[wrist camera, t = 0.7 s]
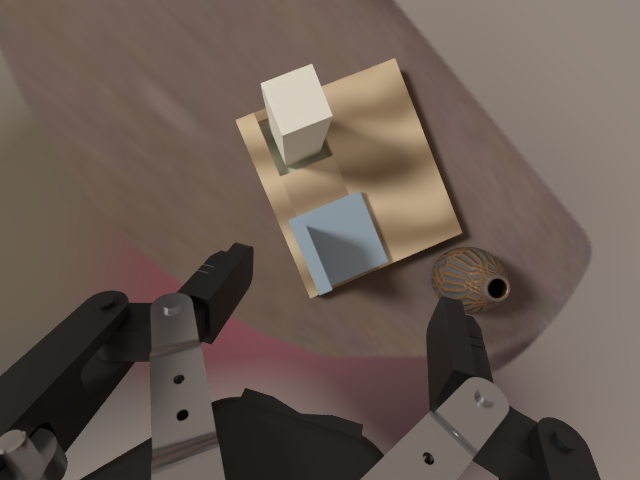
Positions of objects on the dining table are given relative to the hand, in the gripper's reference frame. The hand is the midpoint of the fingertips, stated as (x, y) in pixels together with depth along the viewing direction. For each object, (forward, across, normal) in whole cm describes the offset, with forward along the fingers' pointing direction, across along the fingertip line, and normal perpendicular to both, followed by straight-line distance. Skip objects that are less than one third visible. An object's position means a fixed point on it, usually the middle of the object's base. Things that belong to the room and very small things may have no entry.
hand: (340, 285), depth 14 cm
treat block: (+24, +9, +2) cm, 26 cm away
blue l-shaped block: (+19, +2, +10) cm, 21 cm away
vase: (+23, -11, +13) cm, 29 cm away
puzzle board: (+24, +2, +5) cm, 25 cm away
